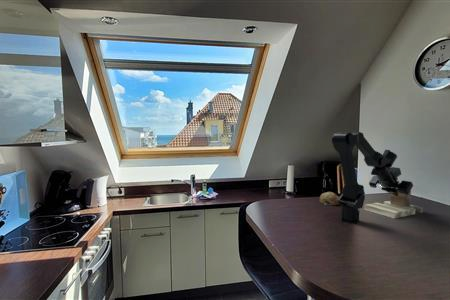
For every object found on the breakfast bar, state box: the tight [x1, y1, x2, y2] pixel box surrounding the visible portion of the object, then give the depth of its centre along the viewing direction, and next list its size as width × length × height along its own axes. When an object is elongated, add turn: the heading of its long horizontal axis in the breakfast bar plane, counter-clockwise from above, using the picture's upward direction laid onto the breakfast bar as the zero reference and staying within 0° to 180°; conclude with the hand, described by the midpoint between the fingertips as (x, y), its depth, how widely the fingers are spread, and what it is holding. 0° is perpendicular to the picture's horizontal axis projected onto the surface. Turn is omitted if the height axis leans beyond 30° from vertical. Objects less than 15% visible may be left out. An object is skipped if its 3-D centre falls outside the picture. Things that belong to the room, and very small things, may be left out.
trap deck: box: [363, 200, 424, 219], centre depth 134 cm, size 22×15×2 cm
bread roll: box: [319, 191, 340, 206], centre depth 147 cm, size 10×10×8 cm
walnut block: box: [390, 189, 412, 207], centre depth 136 cm, size 6×6×10 cm
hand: (396, 195), depth 134 cm, fingers closed, pressing on walnut block
